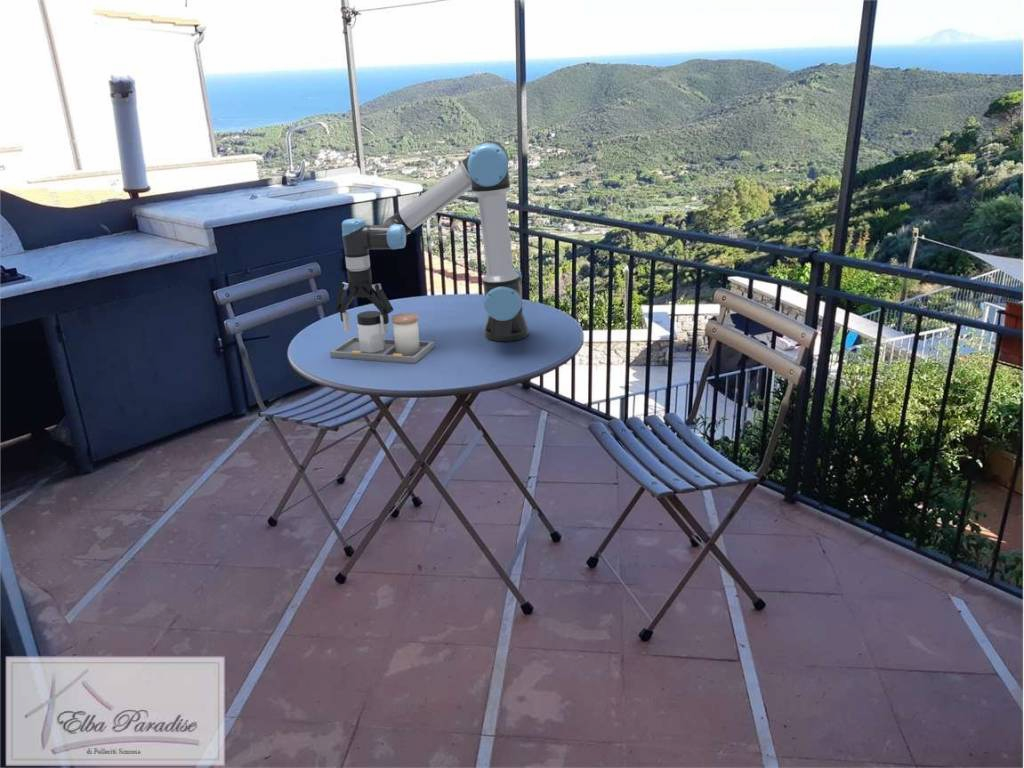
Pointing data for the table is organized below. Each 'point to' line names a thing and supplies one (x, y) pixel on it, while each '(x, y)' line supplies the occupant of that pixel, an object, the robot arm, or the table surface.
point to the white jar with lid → (406, 334)
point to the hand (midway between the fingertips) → (366, 332)
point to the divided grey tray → (388, 355)
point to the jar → (370, 332)
